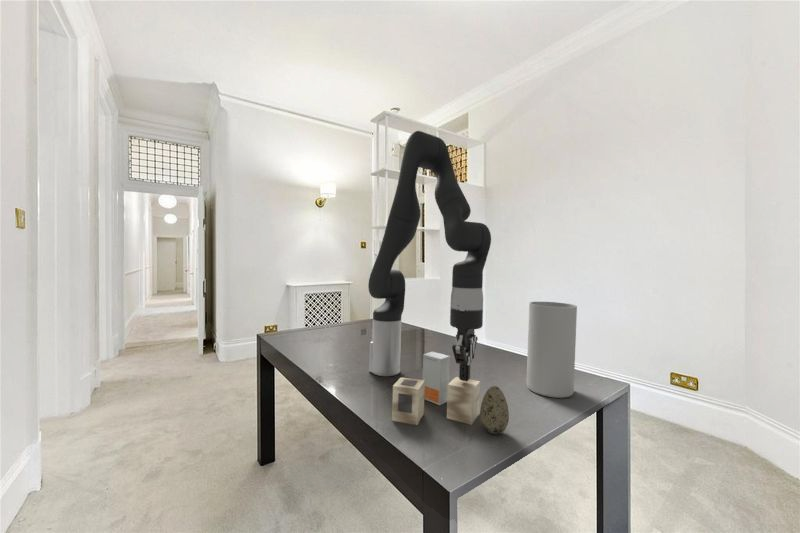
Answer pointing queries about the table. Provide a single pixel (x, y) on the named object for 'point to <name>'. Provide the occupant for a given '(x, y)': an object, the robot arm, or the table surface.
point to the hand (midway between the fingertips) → (464, 379)
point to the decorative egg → (494, 411)
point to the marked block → (408, 400)
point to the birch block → (463, 400)
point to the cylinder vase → (551, 348)
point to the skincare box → (436, 377)
